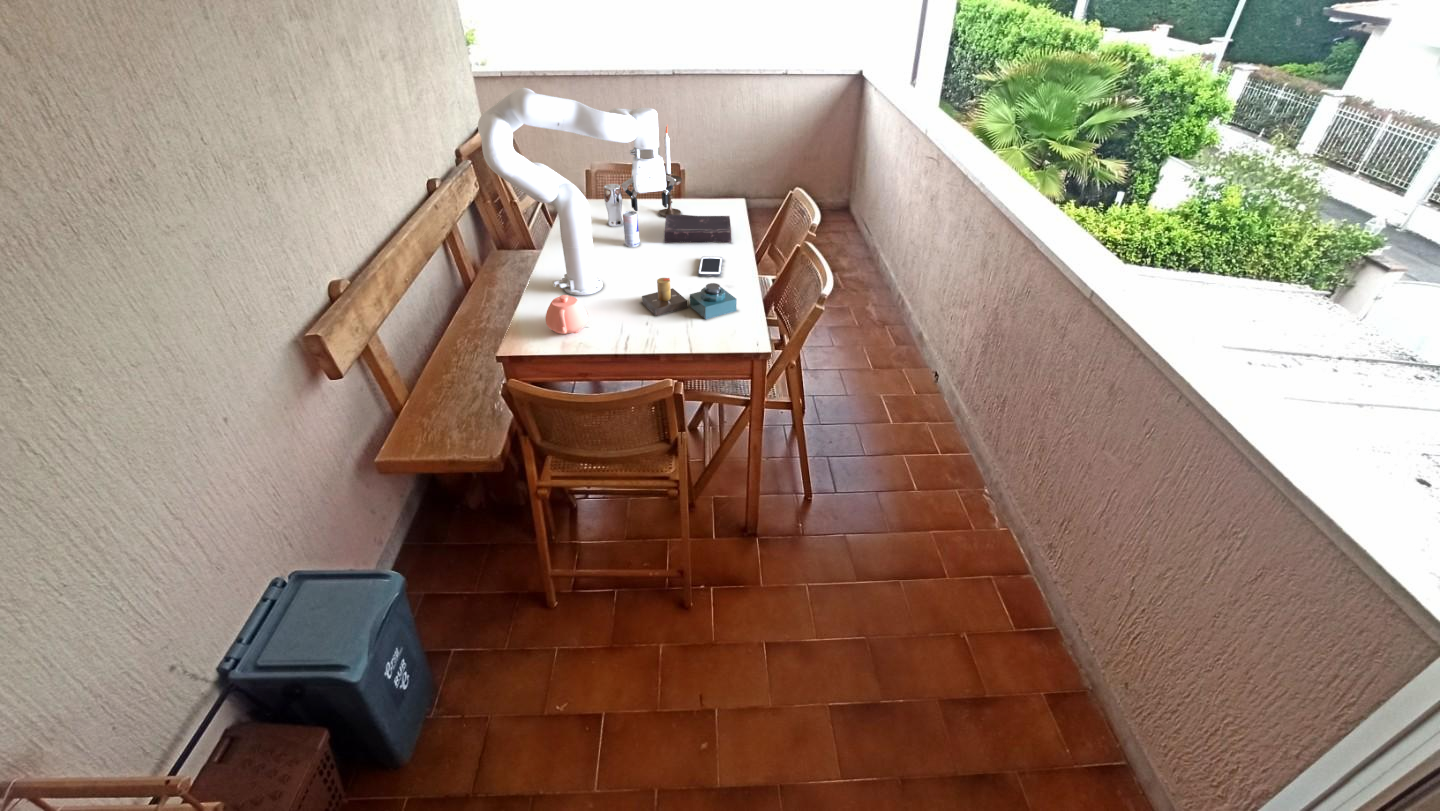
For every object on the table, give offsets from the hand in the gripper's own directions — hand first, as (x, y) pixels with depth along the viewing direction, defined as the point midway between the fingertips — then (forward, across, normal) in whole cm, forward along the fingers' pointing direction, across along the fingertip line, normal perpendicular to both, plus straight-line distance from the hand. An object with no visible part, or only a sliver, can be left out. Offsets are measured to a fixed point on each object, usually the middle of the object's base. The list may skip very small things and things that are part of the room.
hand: (650, 208), depth 206 cm
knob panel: (+23, -3, -22) cm, 33 cm away
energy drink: (+24, 0, +29) cm, 37 cm away
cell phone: (+23, +20, -1) cm, 31 cm away
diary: (+23, +26, +30) cm, 46 cm away
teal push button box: (+23, +11, -30) cm, 39 cm away
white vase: (+24, -2, +52) cm, 57 cm away
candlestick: (+23, +22, +55) cm, 64 cm away
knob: (+21, -3, -23) cm, 31 cm away
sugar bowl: (+24, -34, -27) cm, 49 cm away
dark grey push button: (+18, +11, -30) cm, 36 cm away
